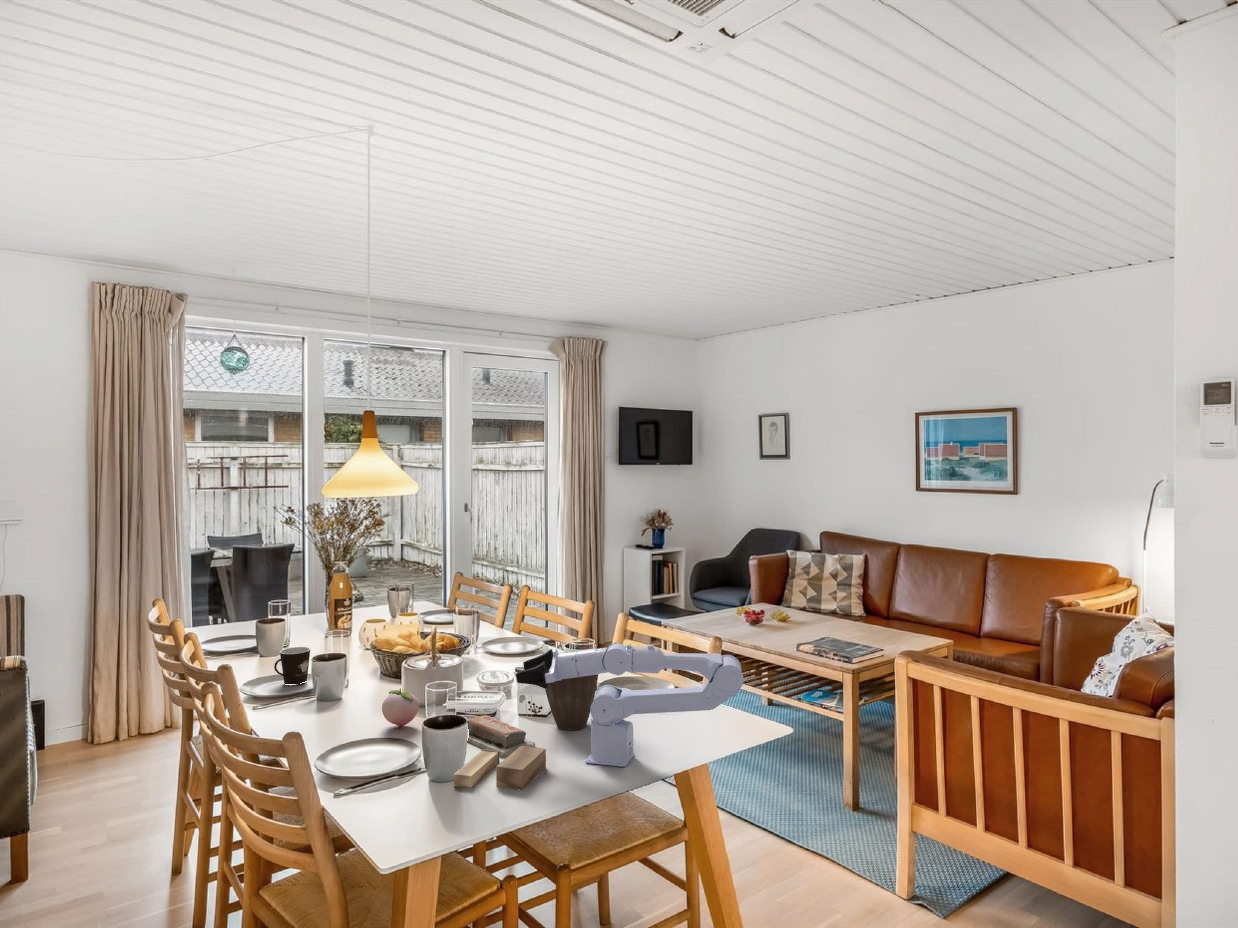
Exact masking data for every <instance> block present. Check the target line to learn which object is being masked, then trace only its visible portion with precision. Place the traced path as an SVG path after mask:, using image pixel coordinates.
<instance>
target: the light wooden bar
mask: <svg viewBox="0 0 1238 928" xmlns="http://www.w3.org/2000/svg"><path fill="white" fill-rule="evenodd" d="M499 764H500V756H499V751H498V750H489V749H481V750H480V751H479V752H478V753H477V754H476V755H475V756H473V757H472V758H471V759H470V760H469V761H468V762H466V763H465V764H464V765H463V766H461V767H460V768H461V769H460V768H459V769H458V770H457V771H456V772H454V773H453V787H459V788H469V789H472V788H473V787H474V786H475V785H476V784H477V783H479V781H481V780H482V779H483V778H484V777H485V776H487V774H488V773H489V772H491V770H492V769H493V768H496V766H497V765H499Z"/></svg>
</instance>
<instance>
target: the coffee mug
mask: <svg viewBox="0 0 1238 928" xmlns="http://www.w3.org/2000/svg"><path fill="white" fill-rule="evenodd" d="M279 655H280V658H279V659H277V660H276V661H275V662H274V665H273V666H274V671H275V672H276V673H277V674H278V675H280V676H281V677H283V684H284V683H285V684H300V683H302V682H305V681H307V682H308V676H309V675H308V673H309V666H310V665H309V664H310V655H311V648H310V647H308V646H294V647H293V646H292V647H288V648H284V649H281V650H280V651H279ZM278 663H281V664H280V665H281V670H282V672H281V671H279V670H278V669H277V666H278Z"/></svg>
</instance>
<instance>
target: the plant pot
mask: <svg viewBox="0 0 1238 928" xmlns="http://www.w3.org/2000/svg"><path fill="white" fill-rule="evenodd" d="M598 678H599V674H597V675H589V676H582V677H575V678H568V679H562V680H560V681H555V682H552V683H548V688H546V689H544V691H545V694H546V699H547V702H548V705H549V708H550V711H551V714H552V717H553V719H554V722H555V724H556V727H557V728H558V729H559V730H561V731H565V732H566V731H567V732H568V731H569V732H573V731H579V730H582V729H584V728H586V726H587V723H588V720H589V717H590V716H591V712H590V708H591V704H592V702H593V701H594V699H595V696H596V692H597V686H598Z"/></svg>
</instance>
